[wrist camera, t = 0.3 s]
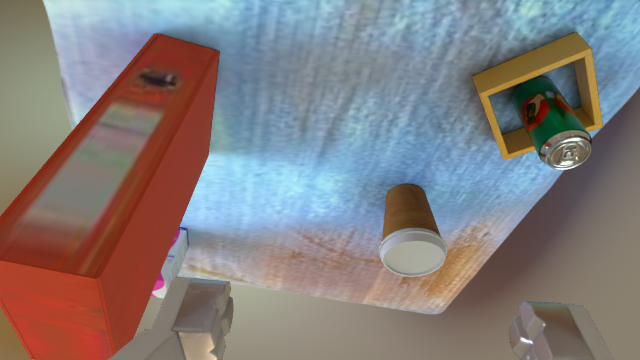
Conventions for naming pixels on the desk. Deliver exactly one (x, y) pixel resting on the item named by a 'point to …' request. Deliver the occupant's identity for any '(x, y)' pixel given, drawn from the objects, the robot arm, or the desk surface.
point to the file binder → (108, 207)
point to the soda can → (551, 124)
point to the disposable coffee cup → (410, 234)
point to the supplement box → (172, 263)
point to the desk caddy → (534, 66)
